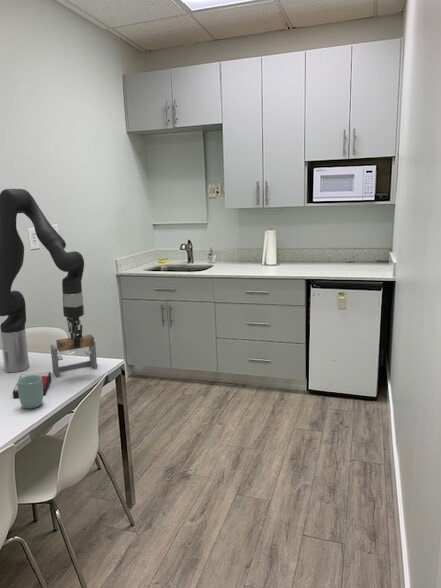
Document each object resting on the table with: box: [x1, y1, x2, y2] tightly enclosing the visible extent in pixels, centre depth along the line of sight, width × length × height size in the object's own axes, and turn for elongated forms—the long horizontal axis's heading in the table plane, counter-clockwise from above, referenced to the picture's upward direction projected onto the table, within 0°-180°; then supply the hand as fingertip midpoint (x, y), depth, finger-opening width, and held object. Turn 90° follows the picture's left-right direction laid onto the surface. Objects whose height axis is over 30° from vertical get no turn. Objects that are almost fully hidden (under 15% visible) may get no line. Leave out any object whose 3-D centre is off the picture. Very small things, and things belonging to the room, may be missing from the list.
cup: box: [16, 375, 44, 410], centre depth 151 cm, size 8×8×10 cm
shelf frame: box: [50, 340, 98, 378], centre depth 182 cm, size 17×6×12 cm, turn 123°
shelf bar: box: [56, 334, 95, 353], centre depth 172 cm, size 13×4×4 cm, turn 123°
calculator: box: [12, 371, 52, 400], centre depth 166 cm, size 11×4×15 cm
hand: (75, 345), depth 172 cm, fingers closed on shelf bar, 4 cm apart
